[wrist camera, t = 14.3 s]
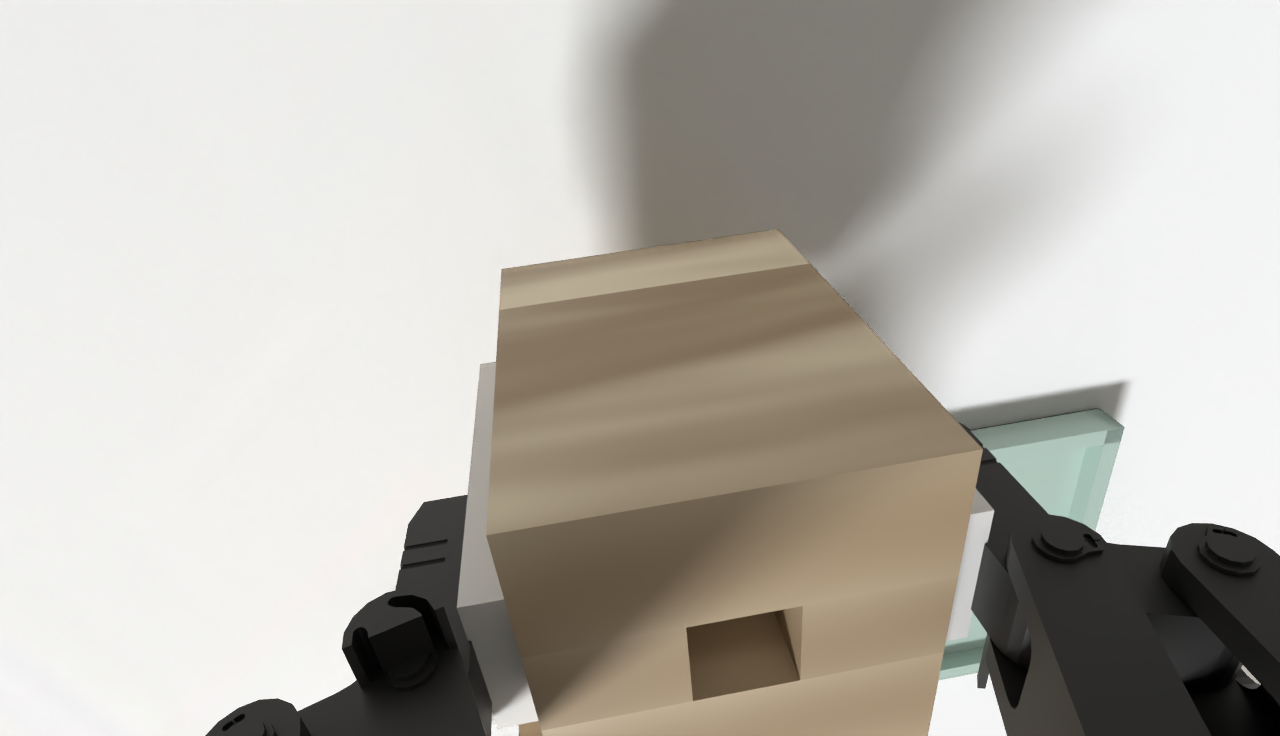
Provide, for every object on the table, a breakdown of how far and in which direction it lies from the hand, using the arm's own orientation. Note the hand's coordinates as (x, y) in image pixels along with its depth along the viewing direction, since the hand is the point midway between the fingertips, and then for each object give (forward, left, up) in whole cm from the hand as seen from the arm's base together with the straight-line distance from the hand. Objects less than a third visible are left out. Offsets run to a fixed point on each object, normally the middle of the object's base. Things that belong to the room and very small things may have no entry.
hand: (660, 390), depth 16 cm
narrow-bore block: (0, 0, -1) cm, 1 cm away
